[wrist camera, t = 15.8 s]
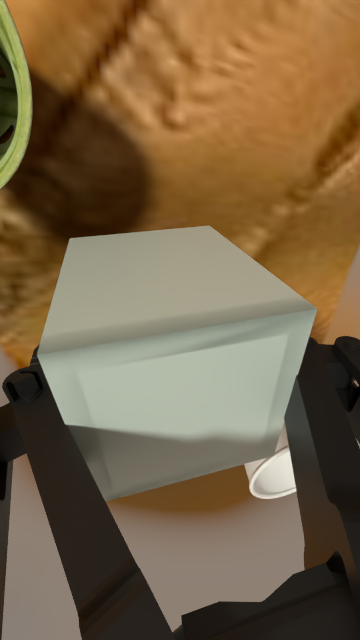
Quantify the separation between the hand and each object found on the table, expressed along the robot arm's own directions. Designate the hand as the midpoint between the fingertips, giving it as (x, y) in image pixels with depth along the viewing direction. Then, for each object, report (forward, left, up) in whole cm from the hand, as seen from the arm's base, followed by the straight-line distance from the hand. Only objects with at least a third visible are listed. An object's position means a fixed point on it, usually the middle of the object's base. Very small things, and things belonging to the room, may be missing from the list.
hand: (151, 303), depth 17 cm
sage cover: (0, 0, -1) cm, 1 cm away
